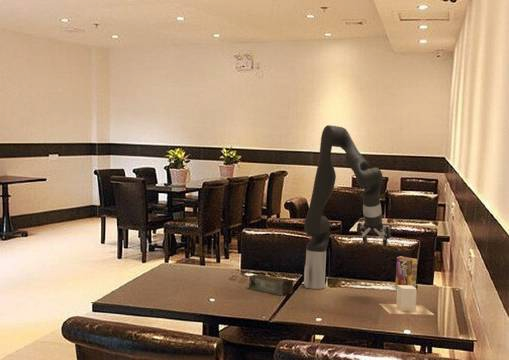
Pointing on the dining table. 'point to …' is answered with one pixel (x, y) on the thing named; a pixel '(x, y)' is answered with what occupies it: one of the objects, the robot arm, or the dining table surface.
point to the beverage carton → (271, 284)
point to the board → (394, 310)
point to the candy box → (406, 271)
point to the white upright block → (406, 298)
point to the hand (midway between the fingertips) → (375, 244)
